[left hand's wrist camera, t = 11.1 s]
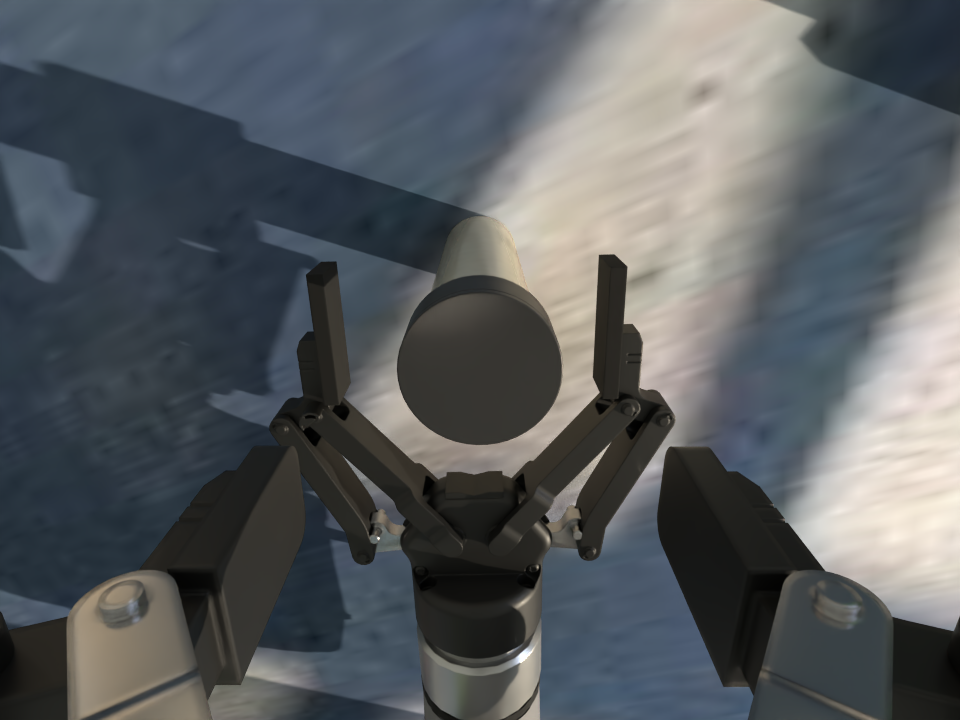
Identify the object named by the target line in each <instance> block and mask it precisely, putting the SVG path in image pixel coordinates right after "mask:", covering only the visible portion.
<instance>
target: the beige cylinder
mask: <svg viewBox="0 0 960 720" xmlns="http://www.w3.org/2000/svg"><path fill="white" fill-rule="evenodd" d="M471 275H489V276H495V277H500V278H504V279H506V280H509V281H512V282H514V283H516V284H517V285H519V286H521V287H523V288H524V289H525V290H527V291H528V287H527V284H526V280H525V277H524V274H523V270H522V267H521V264H520V260H519V257H518V254H517V250H516V247H515V243H514V240H513V238H512V235H511V234H510V232H509V231H508V229H507V228H506V227H505V226H504V225H503V224H502V223H500V222H499V221H497V220H495V219H493V218H490V217H485V216H475V217H470V218H467V219H465V220H463V221H461V222H460V223H458V224H457V225H456V226H455V227H454V228H453V229H452V231H451V232H450V234H449V235H448V237H447V240H446V243H445V247H444V250H443V253H442V257H441V260H440V264H439V267H438V270H437V274H436V277H435V280H434V284H433V287H432V290H431V292H432V291H433V290H434V289H436V288H437V287H439V286H441V285H442V284H444V283H446V282H449V281H451V280H453V279H457V278H460V277H465V276H471ZM528 292H529V291H528Z"/></svg>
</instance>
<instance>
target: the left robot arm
mask: <svg viewBox="0 0 960 720" xmlns="http://www.w3.org/2000/svg"><path fill="white" fill-rule="evenodd" d="M190 504H191V505H190V507H187V508H186V510H185V511H184V512H183V513H182V515H181V516H180V517H179V522H176V523H175V524H174V525H173V526H172V528H171V529H170V530H169V532H168V533H167V534H166V536H165V537H164V538H163V539H162V541H161V542H160V543H159V545H158V546H157V547H156V549H155V550H154V551H153V552H152V554H151V555H150V556H149V558H148V559H147V560H146V562H145V563H144V564H143V565H142V567H141V568H140V569H139V571H134V572H129V573H126V574H122V575H119V576H117V577H114V578H112V579H109V580H107V581H105V582H103V583H101V584H100V585H98V586H96V587H95V588H93V589H92V590H91V591H89V592H88V593H86V594H85V595H84V596H83V597H82V598H81V599H80V600H79V601H78V602H77V603H76V604H75V605H74V607H73V608H72V610H71V611H70V613H69V616H67V617H64V618H60V619H55V620H51V621H47V622H42V623H38V624H33V625H29V626H25V627H20V628H16V629H12V630H8V628H7V625H6V623H5V620H4V617H3V615H2V613H1V612H0V720H212V717H211V713H210V709H209V705H208V699H209V697H210V695H211V692H212V690H213V688H214V686H215V685H241V683H242V680H243V678H244V676H245V673H246V671H247V669H248V666H249V664H250V662H251V659H252V657H253V655H254V652H255V650H256V648H257V645H258V643H259V641H260V638H261V636H262V634H263V631H264V629H265V627H266V624H267V622H268V620H269V617H270V615H271V613H272V610H273V608H274V606H275V604H276V601H277V599H278V597H279V594H280V592H281V590H282V587H283V585H284V583H285V580H286V578H287V576H288V573H289V571H290V569H291V566H292V564H293V562H294V559H295V557H296V555H297V552H298V550H299V548H300V545H301V543H302V540H303V536H304V530H305V518H306V516H305V505H304V497H303V490H302V482H301V475H300V467H299V460H298V454H297V451H296V449H295V447H294V446H254V447H253V448H252V449H251V451H250V452H249V454H248V455H247V456H246V458H245V459H244V461H243V462H242V463H241V465H240V466H239V468H238V469H237V470H236V471H225V472H223V473H222V474H220V475H219V476H217V477H216V478H214V479H213V480H212V481H210V482H209V483H207V484H206V485H204V486H203V488H202V489H201V490H200V491H199V493H198V494H197V495H196V497H195V498H194V499H193V501H192V502H191V503H190ZM657 523H658V532H659V537H660V541H661V544H662V546H663V549H664V551H665V553H666V556H667V558H668V560H669V563H670V565H671V567H672V569H673V572H674V574H675V576H676V579H677V581H678V583H679V586H680V588H681V590H682V592H683V595H684V597H685V599H686V602H687V604H688V606H689V609H690V611H691V613H692V615H693V618H694V620H695V622H696V625H697V627H698V629H699V631H700V634H701V636H702V638H703V641H704V643H705V645H706V648H707V650H708V652H709V654H710V657H711V659H712V661H713V664H714V666H715V668H716V671H717V673H718V675H719V677H720V680H721V682H722V684H723V687H750V689H751V691H752V693H753V696H754V697H753V701H752V705H751V709H750V713H749V717H748V720H960V617H959V620H958V622H957V625H956V627H955V630H954V631H950V630H945V629H941V628H936V627H932V626H928V625H923V624H919V623H915V622H910V621H906V620H902V619H898V618H894V617H892V616H891V613H890V611H889V610H888V608H887V607H886V605H885V604H884V603H883V602H882V601H881V600H880V599H879V598H878V597H877V596H876V595H875V594H874V593H872V592H871V591H869V590H868V589H867V588H865V587H864V586H862V585H860V584H859V583H857V582H855V581H853V580H851V579H848V578H846V577H843V576H841V575H838V574H834V573H831V572H826V571H825V570H824V569H823V568H822V566H821V565H820V564H819V562H818V561H817V560H816V559H815V557H814V556H813V555H812V553H811V552H810V551H809V550H808V548H807V547H806V546H805V544H804V543H803V542H802V541H801V539H800V538H799V537H798V535H797V534H796V533H795V532H794V530H793V529H792V528H791V526H790V525H789V524H788V523H785V519H784V517H783V516H782V515H781V514H780V512H779V511H778V510H777V508H774V507H773V503H772V502H771V501H770V499H769V498H768V497H767V496H766V494H765V493H764V492H763V490H762V489H761V488H760V487H759V486H758V485H756V484H755V483H753V482H752V481H750V480H749V479H748V478H746V477H745V476H743V475H742V474H740V473H739V472H727V471H726V469H725V468H724V467H723V465H722V464H721V462H720V461H719V460H718V458H717V457H716V455H715V454H714V453H713V451H712V450H711V449H710V448H709V447H669V448H668V450H667V452H666V455H665V460H664V468H663V475H662V483H661V490H660V498H659V505H658V513H657Z"/></svg>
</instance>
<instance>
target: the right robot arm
mask: <svg viewBox="0 0 960 720" xmlns="http://www.w3.org/2000/svg"><path fill="white" fill-rule="evenodd" d="M306 279H307V286H308V293H309V301H310V308H311V315H312V322H313V330H314V332H307V333H306V334H305V335H304V336H303V338H302V339H301V340H300V341H299V345H298V348H297V356H298V361H299V369H300V376H301V382H302V389H303V397H300V398H290V399H288V400H287V401H286V402H285V403H284V405H283V406H282V407H281V409H280V410H279V412H278V413H277V415H276V416H275V417H274V419H273V420H272V422H271V423H270V426H269V429H270V432H271V434H272V435H273V437H274V438H275V439H276V441H277V442H278V443H279V445H280V446H294V447H295V449H296V451H297V454H298V460H299V467H300V473H301V474H302V475H303V477H304V478H305V479H306V481H307V482H308V483H309V485H310V486H311V487H312V489H313V490H314V491H315V493H316V494H317V495H318V497H319V498H320V499H321V500H322V502H323V503H324V504H325V506H326V507H327V508H328V510H329V511H330V512H331V514H332V515H333V516H334V518H335V519H336V520H337V522H338V523H339V524H340V526H341V527H342V528H343V530H344V531H345V532H346V535H347V539H348V543H349V546H350V550H351V553H352V557H353V559H354V561H355V562H357V563H358V564H361V565H367V564H370V563H371V562H372V561H373V559H374V556H375V553H376V552H385V551H394V550H403V552H404V553H405V554H406V556H407V557H408V558H409V560H410V562H411V566H412V576H413V587H414V599H415V610H416V619H417V623H418V624H417V635H418V645H419V655H420V665H421V677H422V684H423V691H424V713H425V720H540V701H539V683H540V671H541V611H542V562H543V558H544V556H545V554H546V553H547V551H548V550H549V549H550V547H559V548H573V549H578V552H579V555H580V557H581V558H582V559H584V560H587V561H591V560H594V559H596V558H598V557H599V555H600V553H601V548H602V543H603V538H604V533H605V528H606V527H607V525H608V524H609V522H610V521H611V519H612V517H613V516H614V514H615V513H616V511H617V510H618V508H619V507H620V505H621V504H622V502H623V501H624V499H625V498H626V496H627V495H628V493H629V492H630V490H631V489H632V487H633V486H634V484H635V483H636V481H637V480H638V478H639V477H640V475H641V474H642V472H643V471H644V469H645V468H646V466H647V465H648V463H649V462H650V460H651V459H652V457H653V456H654V454H655V453H656V451H657V450H658V448H659V447H660V445H661V444H662V442H663V441H664V439H665V438H666V436H667V435H668V433H669V432H670V430H671V429H672V427H673V426H674V424H675V415H674V414H673V412H672V411H671V409H670V407H669V406H668V404H667V403H666V402H665V400H664V399H663V397H662V396H661V394H660V393H659V392H658V391H656V390H643V389H641V388H639V386H640V373H641V361H642V349H643V342H642V339H641V336H640V333H639V332H638V330H637V329H636V328H635V327H634V325H633V324H623V323H624V309H625V294H626V279H627V266H626V265H625V264H624V263H623V262H622V261H621V260H620V259H619V258H618V257H617V256H616V255H614V254H612V255H599V265H598V285H597V305H596V325H595V346H594V366H593V378H594V381H595V383H596V385H597V387H598V389H599V392H600V393H599V394H598V395H597V396H596V397H595V398H594V399H593V400H592V401H591V402H590V403H589V404H588V405H587V406H586V407H585V408H584V409H583V410H582V412H581V413H580V414H579V415H578V416H577V417H576V418H575V419H574V420H573V421H572V422H571V423H570V424H569V425H568V426H567V427H566V428H565V429H564V430H563V431H562V432H561V433H560V434H559V435H558V436H557V437H556V438H555V439H554V440H553V441H552V443H551V444H550V445H549V446H548V447H547V448H546V449H545V450H544V451H543V452H542V453H541V454H540V455H539V456H538V457H537V458H536V459H535V460H534V461H528V462H527V463H526V464H525V465H524V466H523V467H522V468H521V469H520V470H519V471H518V472H517V473H516V474H515V475H514V476H513V477H512V478H510V477H507V476H504V475H502V471H488V472H484V473H480V474H476V475H473V474H468V473H463V472H447V476H446V477H443V478H440V479H439V480H438V479H437V478H436V477H435V476H434V475H433V474H432V473H431V472H430V471H429V470H427V469H426V468H425V467H424V466H423V465H422V464H420V463H417V464H416V463H414V462H413V461H412V460H411V459H410V458H409V457H407V456H406V455H405V454H404V453H403V452H402V451H401V450H400V449H399V448H398V447H397V446H396V445H395V444H393V443H392V442H391V441H390V440H389V439H388V438H387V437H386V436H385V435H384V434H383V433H382V432H380V431H379V430H378V429H377V428H376V427H375V426H374V425H373V424H372V423H371V422H370V421H369V420H367V419H366V418H365V417H364V416H363V415H362V414H361V413H360V412H359V411H358V410H357V409H356V408H355V407H353V406H352V405H351V404H350V403H349V402H348V401H347V400H346V399H345V398H344V395H345V393H346V391H347V389H348V387H349V385H350V383H351V381H350V373H349V364H348V356H347V347H346V339H345V330H344V322H343V313H342V305H341V296H340V288H339V279H338V271H337V262H320V263H319V264H318V265H317V266H316V267H315V268H313V269H312V270H311V271H310V272H309V273H308V274H306ZM610 443H611V444H610ZM609 444H610V445H609ZM607 445H609V447H608V448H607V450H606V452H605V453H604V455H603V456H602V458H601V459H600V461H599V463H598V464H597V466H596V467H595V469H594V471H593V472H592V474H591V475H590V477H589V479H588V480H587V482H586V483H585V485H584V487H583V488H582V490H581V492H580V494H579V496H578V499H577V502H576V506H573V505H571V506H568V507H567V510H566V512H565V513H564V515H563V517H562V518H561V519H560V520H559V521H557V522H549V520H548V518H547V516H546V515H545V514H546V513H547V512H548V511H549V509H550V508H551V506H552V504H553V501H554V499H555V497H556V496H557V495H558V494H559V493H560V492H561V491H562V490H563V489H564V488H565V487H566V486H567V485H568V484H569V483H570V482H571V481H572V480H573V479H574V478H575V477H576V476H577V475H578V474H579V473H580V472H581V471H582V470H583V469H584V468H585V467H586V466H587V465H588V464H589V463H590V462H591V461H592V460H593V459H594V458H595V457H596V456H597V455H598V454H599V453H600V452H601V451H602V450H603V449H604V448H605V447H606V446H607ZM341 454H342V455H343V456H344V457H345V458H346V459H347V460H348V461H350V462H351V463H352V464H353V465H354V466H355V467H356V468H357V469H359V470H360V471H361V472H362V473H363V474H364V475H365V476H366V477H368V478H369V479H370V480H371V481H372V482H373V483H374V484H375V485H377V486H378V487H379V488H380V489H381V490H382V491H383V492H384V493H386V494H387V495H388V496H389V497H390V498H391V499H392V500H393V501H394V502H395V505H396V508H397V510H398V511H399V512H400V513H401V514H402V515H403V516H404V517H405V518H406V519H405V521H404V523H403V525H395V524H393V523H392V522H391V521H390V520H389V518H388V517H387V516H386V512H385V511H384V510H382V509H378V510H376V507H375V504H374V502H373V499H372V497H371V496H370V494H369V493H368V491H367V490H366V488H365V487H364V485H363V484H362V483H361V481H360V480H359V478H358V477H357V476H356V474H355V473H354V471H353V470H352V469H351V467H350V466H349V464H348V463H347V462H346V460H345V459H344V457H343V456H342V455H341Z"/></svg>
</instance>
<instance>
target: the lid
mask: <svg viewBox="0 0 960 720" xmlns="http://www.w3.org/2000/svg"><path fill="white" fill-rule="evenodd" d="M397 375H398V382H399V386H400V390H401V393H402V395H403V398H404V400H405V402H406V403H407V405H408V407H409V408H410V410H411V411H412V413H413V414H414V415H415V416H416V417H417V418H418V419H419V420H420V422H421V423H423V424H424V425H425V426H426V427H428V428H429V429H430V430H432V431H433V432H435V433H437V434H438V435H440V436H443V437H445V438H447V439H450V440H453V441H456V442H460V443H465V444H473V445H488V444H495V443H500V442H504V441H508V440H510V439H513V438H515V437H518V436H520V435H521V434H523V433H525V432H527V431H528V430H530V429H531V428H532V427H534V426H535V425H536V424H537V423H538V422H539V421H541V420H542V418H543V417H544V416H545V415H546V414H547V413H548V411H549V410H550V408H551V407H552V405H553V404H554V402H555V400H556V398H557V395H558V393H559V390H560V386H561V382H562V376H563V362H562V354H561V350H560V347H559V344H558V341H557V338H556V335H555V332H554V330H553V327H552V324H551V322H550V319H549V317H548V315H547V313H546V311H545V310H544V308H543V306H542V305H541V304H540V303H539V301H538V300H537V299H536V298H535V297H534V296H533V295H532V294H531V293H530V292H528V291H527V290H525V289H524V288H523V287H521V286H519V285H517V284H516V283H514V282H512V281H509V280H506V279H504V278H500V277H495V276H489V275H471V276H465V277H460V278H457V279H453V280H451V281H449V282H446V283H444V284H442V285H441V286H439V287H437V288H436V289H434V290H433V291H432V292H431V293H429V294H428V295H427V296H426V297H425V298H424V299H423V300H422V301H421V303H420V304H419V305H418V307H417V308H416V310H415V311H414V313H413V315H412V317H411V319H410V322H409V325H408V327H407V330H406V333H405V336H404V338H403V341H402V344H401V347H400V350H399V355H398V361H397Z"/></svg>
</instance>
